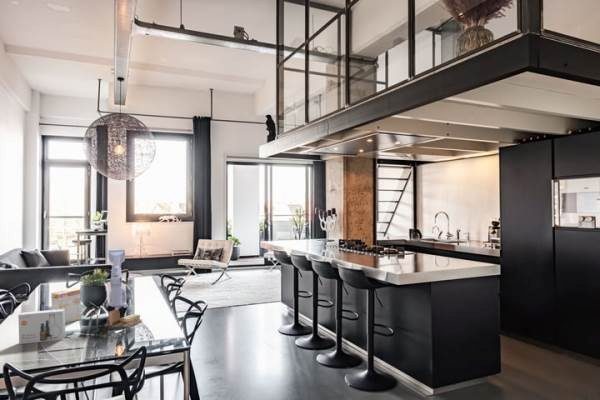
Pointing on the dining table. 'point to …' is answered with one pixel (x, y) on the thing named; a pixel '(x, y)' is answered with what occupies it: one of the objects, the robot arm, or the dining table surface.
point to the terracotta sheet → (114, 316)
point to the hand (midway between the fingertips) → (117, 318)
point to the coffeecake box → (68, 304)
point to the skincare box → (41, 326)
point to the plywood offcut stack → (130, 320)
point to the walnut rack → (118, 324)
